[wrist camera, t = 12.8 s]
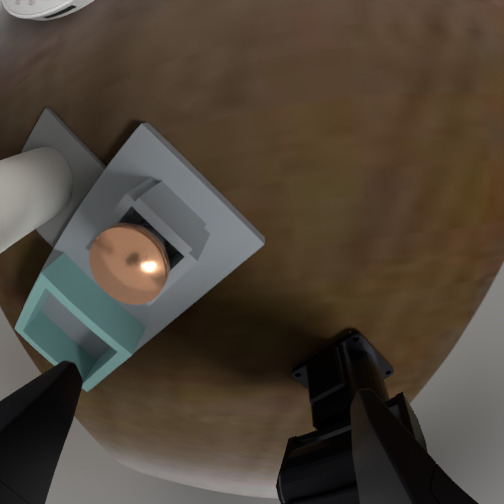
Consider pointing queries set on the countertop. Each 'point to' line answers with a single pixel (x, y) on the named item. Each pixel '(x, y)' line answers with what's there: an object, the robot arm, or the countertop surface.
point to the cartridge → (32, 192)
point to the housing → (179, 251)
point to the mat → (79, 160)
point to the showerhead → (43, 8)
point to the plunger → (130, 262)
